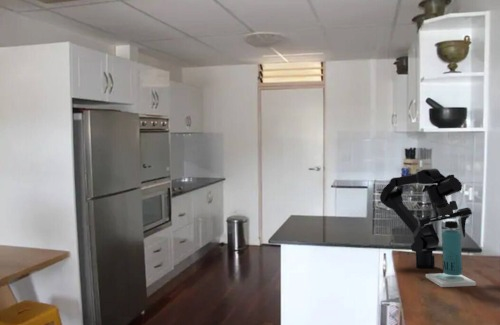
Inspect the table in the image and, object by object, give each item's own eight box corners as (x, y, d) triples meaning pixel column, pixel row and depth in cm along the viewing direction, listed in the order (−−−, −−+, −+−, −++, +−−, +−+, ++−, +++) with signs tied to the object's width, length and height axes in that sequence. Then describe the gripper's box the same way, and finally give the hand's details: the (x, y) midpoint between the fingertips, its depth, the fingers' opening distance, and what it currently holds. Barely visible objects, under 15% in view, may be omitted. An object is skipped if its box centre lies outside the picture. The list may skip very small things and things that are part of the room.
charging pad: (425, 277, 157) (425, 273, 157) (457, 275, 158) (457, 272, 158) (441, 287, 145) (441, 283, 145) (475, 285, 146) (475, 281, 146)
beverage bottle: (462, 275, 153) (460, 220, 153) (463, 280, 147) (462, 223, 147) (442, 274, 156) (440, 219, 156) (442, 279, 150) (441, 222, 150)
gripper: (415, 201, 159) (428, 242, 154) (467, 189, 155) (482, 231, 150) (412, 206, 169) (424, 245, 164) (461, 195, 166) (475, 235, 160)
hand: (451, 239), depth 159 cm, fingers open, 9 cm apart
